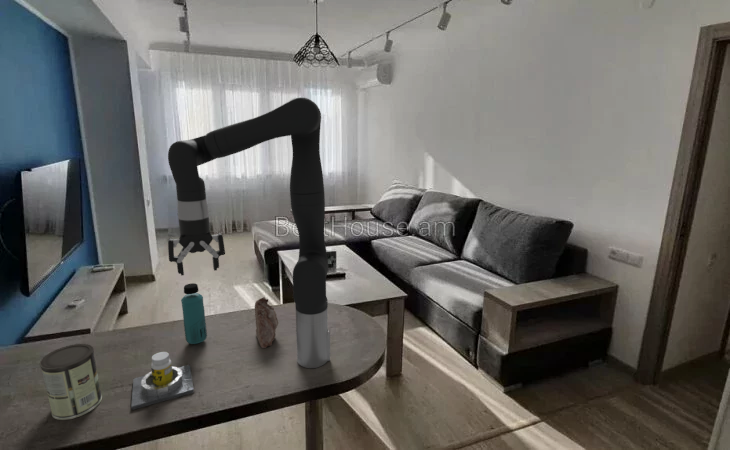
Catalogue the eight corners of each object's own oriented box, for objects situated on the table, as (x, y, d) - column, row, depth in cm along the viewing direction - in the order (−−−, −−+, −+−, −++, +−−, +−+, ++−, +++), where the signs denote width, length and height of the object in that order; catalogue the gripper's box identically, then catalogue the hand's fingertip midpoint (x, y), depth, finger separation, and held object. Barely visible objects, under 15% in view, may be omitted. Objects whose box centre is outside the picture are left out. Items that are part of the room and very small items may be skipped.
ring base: (190, 367, 111) (189, 358, 110) (193, 392, 100) (192, 382, 100) (133, 381, 104) (132, 372, 103) (131, 410, 94) (130, 399, 93)
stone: (249, 295, 124) (252, 311, 116) (273, 291, 127) (277, 305, 118) (256, 333, 129) (259, 351, 121) (278, 328, 132) (282, 345, 123)
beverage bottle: (202, 348, 120) (196, 289, 115) (181, 348, 120) (174, 289, 115) (211, 337, 126) (206, 281, 121) (191, 336, 126) (185, 280, 121)
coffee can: (70, 391, 100) (61, 343, 96) (111, 391, 100) (102, 343, 97) (39, 420, 90) (27, 368, 86) (84, 420, 90) (74, 368, 87)
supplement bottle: (149, 386, 101) (145, 358, 99) (164, 376, 105) (160, 349, 103) (163, 391, 99) (159, 363, 97) (177, 380, 103) (174, 353, 101)
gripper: (164, 221, 97) (171, 281, 101) (223, 216, 103) (228, 272, 107) (163, 215, 103) (170, 271, 107) (219, 210, 110) (223, 263, 114)
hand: (199, 272), depth 107 cm, fingers open, 8 cm apart
